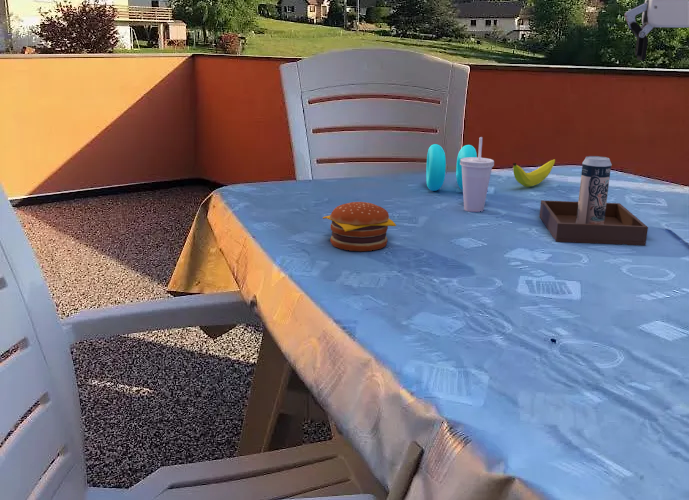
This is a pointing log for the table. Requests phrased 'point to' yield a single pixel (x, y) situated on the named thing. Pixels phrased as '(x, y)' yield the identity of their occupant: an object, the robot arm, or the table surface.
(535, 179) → the banana
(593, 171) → the beer can
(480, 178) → the smoothie
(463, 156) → the donuts
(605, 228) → the tray
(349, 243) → the hamburger
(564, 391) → the table surface
